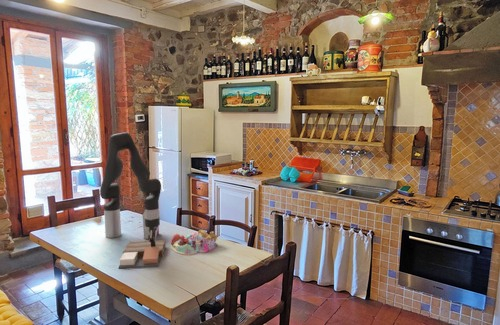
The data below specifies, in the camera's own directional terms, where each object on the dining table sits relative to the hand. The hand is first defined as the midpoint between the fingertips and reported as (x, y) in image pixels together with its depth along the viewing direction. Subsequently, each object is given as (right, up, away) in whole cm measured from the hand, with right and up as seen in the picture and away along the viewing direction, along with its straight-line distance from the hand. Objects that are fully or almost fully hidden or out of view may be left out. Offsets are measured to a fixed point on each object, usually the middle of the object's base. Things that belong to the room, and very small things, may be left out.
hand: (153, 248), depth 179 cm
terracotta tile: (0, -3, -4) cm, 6 cm away
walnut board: (-6, -4, +7) cm, 10 cm away
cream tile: (-11, -5, -6) cm, 13 cm away
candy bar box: (-11, -1, +33) cm, 35 cm away
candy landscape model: (+20, -4, +16) cm, 26 cm away
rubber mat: (-5, -6, -6) cm, 10 cm away
